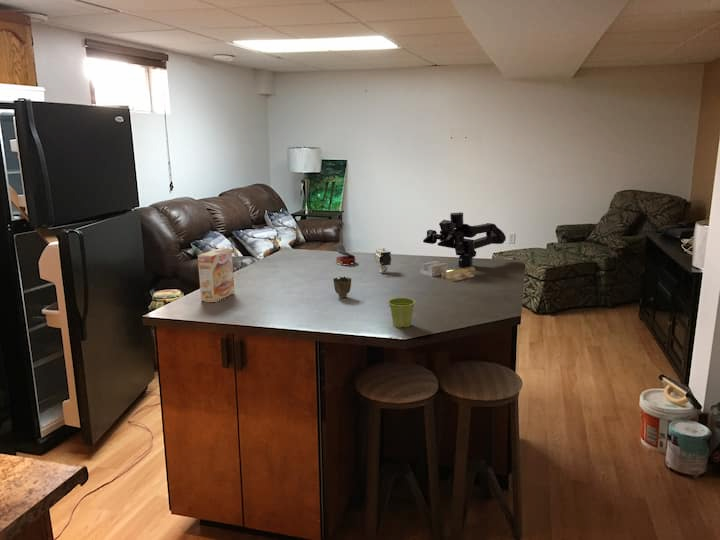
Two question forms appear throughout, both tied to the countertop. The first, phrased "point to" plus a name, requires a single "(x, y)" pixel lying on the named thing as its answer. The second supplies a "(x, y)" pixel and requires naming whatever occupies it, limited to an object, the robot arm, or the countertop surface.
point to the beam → (460, 276)
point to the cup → (342, 286)
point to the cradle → (433, 268)
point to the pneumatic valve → (383, 259)
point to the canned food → (345, 257)
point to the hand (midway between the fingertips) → (430, 242)
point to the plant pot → (401, 311)
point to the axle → (458, 272)
